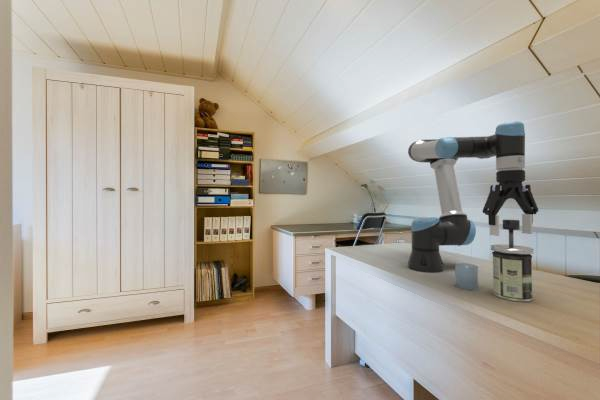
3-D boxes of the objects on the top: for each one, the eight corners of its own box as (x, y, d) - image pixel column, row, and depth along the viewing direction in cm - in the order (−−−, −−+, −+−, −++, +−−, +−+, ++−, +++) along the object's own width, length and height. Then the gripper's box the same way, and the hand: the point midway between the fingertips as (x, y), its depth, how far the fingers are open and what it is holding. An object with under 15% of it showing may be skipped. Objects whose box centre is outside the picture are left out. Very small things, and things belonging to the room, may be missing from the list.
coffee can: (520, 291, 92) (519, 250, 92) (540, 303, 82) (540, 257, 82) (486, 289, 94) (486, 250, 94) (502, 300, 84) (502, 256, 84)
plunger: (482, 248, 92) (482, 219, 92) (508, 247, 95) (507, 218, 95) (514, 255, 81) (514, 221, 81) (542, 253, 84) (542, 220, 84)
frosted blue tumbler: (450, 285, 100) (450, 263, 100) (466, 283, 101) (466, 262, 101) (466, 291, 93) (466, 268, 93) (482, 289, 95) (482, 267, 95)
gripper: (490, 168, 81) (490, 237, 82) (552, 169, 87) (552, 234, 87) (469, 171, 89) (470, 234, 89) (527, 171, 94) (528, 231, 94)
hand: (511, 234), depth 88 cm, fingers open, 13 cm apart
